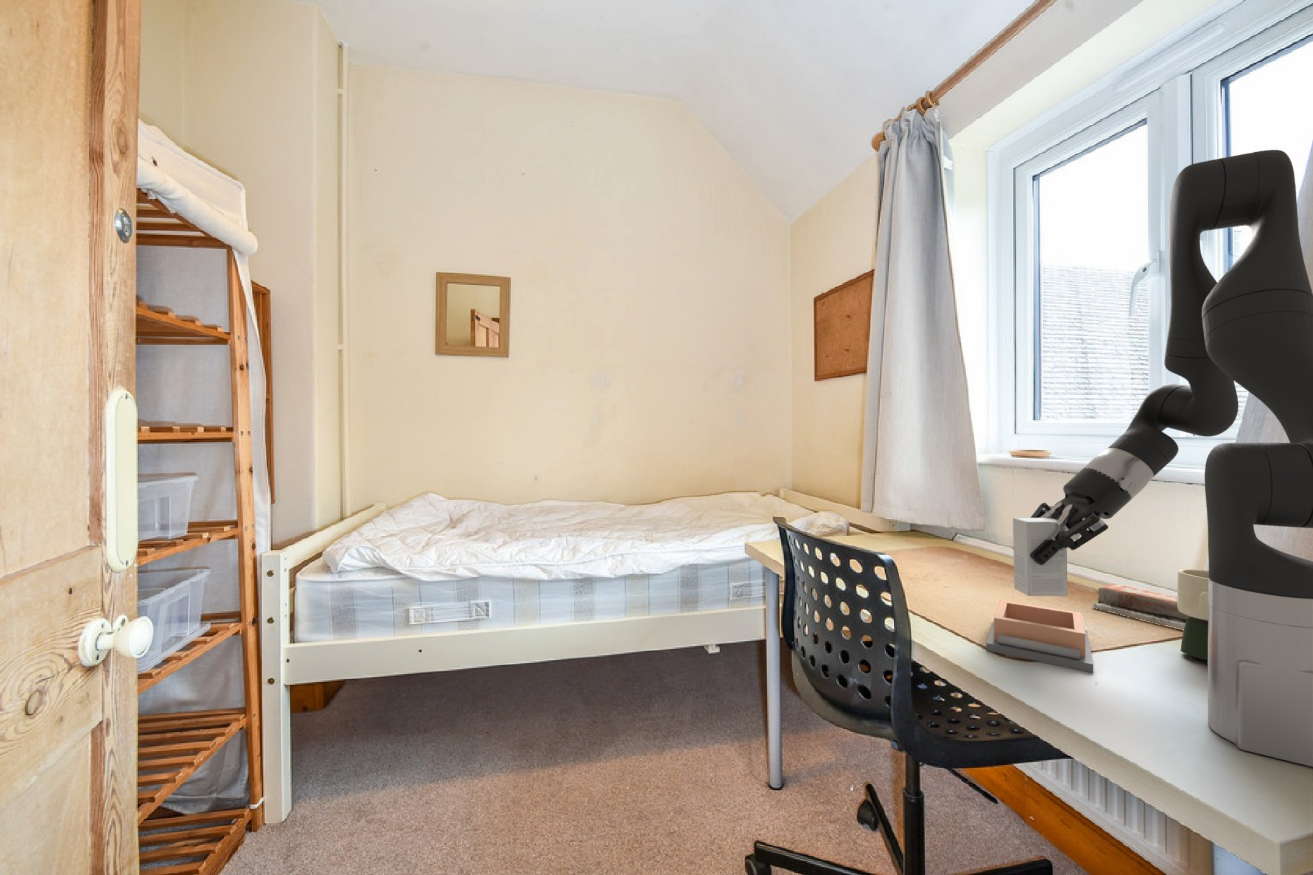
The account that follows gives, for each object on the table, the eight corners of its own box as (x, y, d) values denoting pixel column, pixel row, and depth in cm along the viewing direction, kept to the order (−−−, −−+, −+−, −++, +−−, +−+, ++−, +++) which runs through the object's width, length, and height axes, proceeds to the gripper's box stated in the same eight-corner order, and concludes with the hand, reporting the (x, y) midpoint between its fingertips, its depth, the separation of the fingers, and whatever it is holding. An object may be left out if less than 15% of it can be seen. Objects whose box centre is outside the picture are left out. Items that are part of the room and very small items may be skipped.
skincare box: (1050, 589, 88) (1050, 517, 88) (1068, 597, 84) (1068, 521, 83) (1012, 588, 88) (1012, 517, 88) (1027, 596, 84) (1027, 521, 84)
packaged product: (1090, 585, 103) (1115, 579, 108) (1090, 610, 103) (1115, 603, 108) (1219, 613, 87) (1242, 604, 92) (1219, 642, 87) (1242, 632, 92)
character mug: (1240, 679, 73) (1241, 586, 73) (1170, 661, 79) (1170, 575, 79) (1249, 659, 80) (1250, 573, 80) (1183, 644, 86) (1184, 564, 86)
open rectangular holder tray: (1093, 672, 76) (1093, 640, 76) (986, 650, 83) (986, 620, 83) (1087, 637, 88) (1087, 609, 88) (995, 621, 96) (995, 595, 96)
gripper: (1060, 463, 92) (986, 532, 93) (1123, 469, 78) (1034, 550, 79) (1093, 494, 91) (1018, 562, 93) (1162, 506, 77) (1072, 586, 79)
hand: (1026, 556), depth 86 cm, fingers closed on skincare box, 4 cm apart
